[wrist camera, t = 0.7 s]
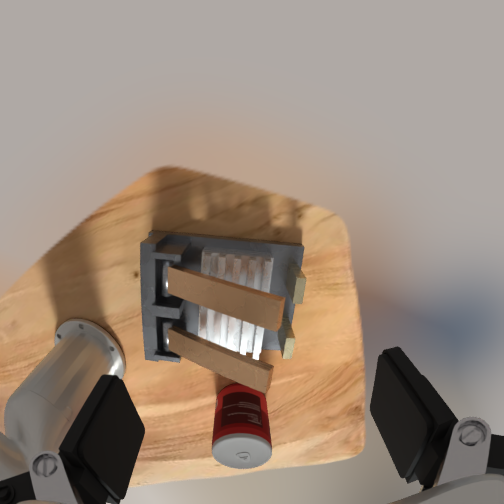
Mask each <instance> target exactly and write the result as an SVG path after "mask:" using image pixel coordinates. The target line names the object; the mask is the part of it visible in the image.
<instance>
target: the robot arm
mask: <svg viewBox="0 0 504 504" xmlns="http://www.w3.org/2000/svg"><path fill="white" fill-rule="evenodd" d="M125 369H126V364H125V358H124V355H123V352H122V351H121V349H120V347H119V345H118V344H117V342H116V341H115V340H114V338H113V337H112V336H111V335H110V334H109V333H108V332H107V331H105V330H104V329H103V328H102V327H100V326H98V325H97V324H95V323H93V322H90V321H88V320H84V319H76V318H75V319H69V320H67V321H65V322H64V323H63V324H62V325H61V326H60V327H59V328H58V329H57V331H56V334H55V347H54V348H53V349H52V350H51V351H50V352H49V353H48V354H47V355H46V356H45V358H44V359H43V360H42V361H41V362H40V363H39V364H38V365H37V366H36V367H35V369H34V370H33V371H32V372H31V373H30V374H29V375H28V376H27V378H26V379H25V380H24V381H23V382H22V383H21V385H20V386H19V387H18V388H17V389H16V390H15V391H14V393H13V394H12V395H11V396H10V398H9V399H8V401H7V404H6V407H5V413H4V426H5V435H6V436H5V435H4V434H3V433H1V432H0V504H106V502H107V503H111V504H119V503H120V500H121V499H124V497H125V495H126V492H127V488H128V485H129V482H130V478H131V475H132V472H133V469H134V466H135V462H136V459H137V456H138V453H139V450H140V447H141V444H142V440H143V437H144V434H145V428H144V425H143V423H142V421H141V419H140V417H139V415H138V413H137V411H136V408H135V406H134V404H133V402H132V400H131V398H130V396H129V393H128V391H127V389H126V386H125V384H124V382H123V380H122V378H123V376H124V373H125ZM370 411H371V415H372V417H373V419H374V421H375V423H376V425H377V427H378V429H379V432H380V434H381V436H382V438H383V440H384V442H385V444H386V447H387V449H388V451H389V453H390V456H391V458H392V460H393V462H394V464H395V466H396V469H397V471H398V473H399V475H400V477H401V478H405V479H406V481H407V483H411V482H413V481H416V480H419V482H420V484H421V485H422V486H421V488H420V491H419V493H417V494H415V495H412V496H409V497H407V498H404V499H401V500H398V501H395V502H392V503H389V504H504V436H500V435H494V434H491V429H490V427H489V425H488V424H487V423H486V422H485V421H484V420H482V419H480V418H477V417H467V418H463V419H462V420H460V421H458V419H457V418H456V417H455V415H454V414H453V412H452V411H451V410H450V408H449V407H448V406H447V405H446V403H445V402H444V401H443V399H442V398H441V397H440V395H439V394H438V393H437V391H436V390H435V389H434V387H433V386H432V385H431V383H430V382H429V381H428V380H427V378H426V377H425V376H423V375H421V374H420V372H419V371H418V370H417V368H416V367H415V366H414V365H413V363H412V362H411V361H410V360H409V358H408V357H407V356H406V355H405V353H404V352H403V351H402V350H401V348H400V347H394V348H390V349H386V350H384V351H383V352H382V354H381V355H379V357H378V362H377V369H376V375H375V381H374V387H373V393H372V398H371V404H370Z"/></svg>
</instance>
